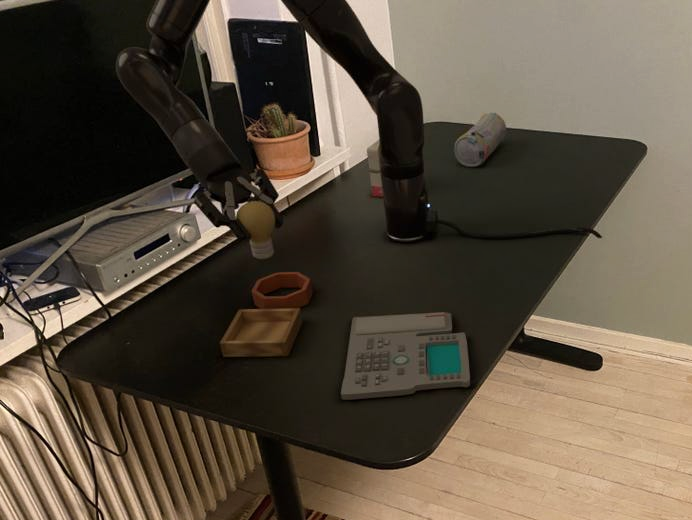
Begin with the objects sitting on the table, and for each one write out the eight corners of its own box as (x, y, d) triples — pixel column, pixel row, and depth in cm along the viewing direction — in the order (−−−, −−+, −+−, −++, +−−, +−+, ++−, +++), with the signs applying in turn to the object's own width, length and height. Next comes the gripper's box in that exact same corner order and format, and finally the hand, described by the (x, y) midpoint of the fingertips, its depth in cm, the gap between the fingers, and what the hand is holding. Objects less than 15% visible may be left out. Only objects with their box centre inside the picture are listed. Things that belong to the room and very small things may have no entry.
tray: (302, 321, 131) (300, 308, 130) (288, 356, 122) (285, 342, 121) (242, 322, 132) (239, 309, 130) (223, 357, 123) (219, 343, 121)
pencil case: (483, 170, 192) (482, 134, 186) (453, 167, 194) (451, 132, 189) (508, 145, 208) (507, 111, 202) (479, 142, 210) (478, 109, 205)
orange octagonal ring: (316, 285, 143) (313, 271, 141) (304, 311, 134) (301, 297, 133) (264, 286, 143) (261, 272, 141) (250, 312, 135) (246, 298, 133)
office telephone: (350, 310, 129) (462, 302, 130) (352, 323, 131) (463, 315, 131) (339, 387, 110) (471, 377, 111) (341, 401, 111) (471, 391, 112)
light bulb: (289, 250, 130) (278, 197, 124) (269, 266, 125) (257, 212, 119) (258, 246, 132) (246, 193, 126) (238, 261, 127) (224, 208, 121)
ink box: (389, 198, 178) (384, 150, 171) (371, 196, 179) (365, 149, 173) (403, 185, 185) (398, 139, 178) (386, 183, 186) (380, 137, 179)
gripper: (174, 153, 116) (237, 238, 117) (246, 129, 126) (304, 207, 127) (164, 178, 122) (224, 259, 123) (233, 153, 131) (289, 228, 132)
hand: (264, 232), depth 125 cm, fingers closed on light bulb, 6 cm apart
